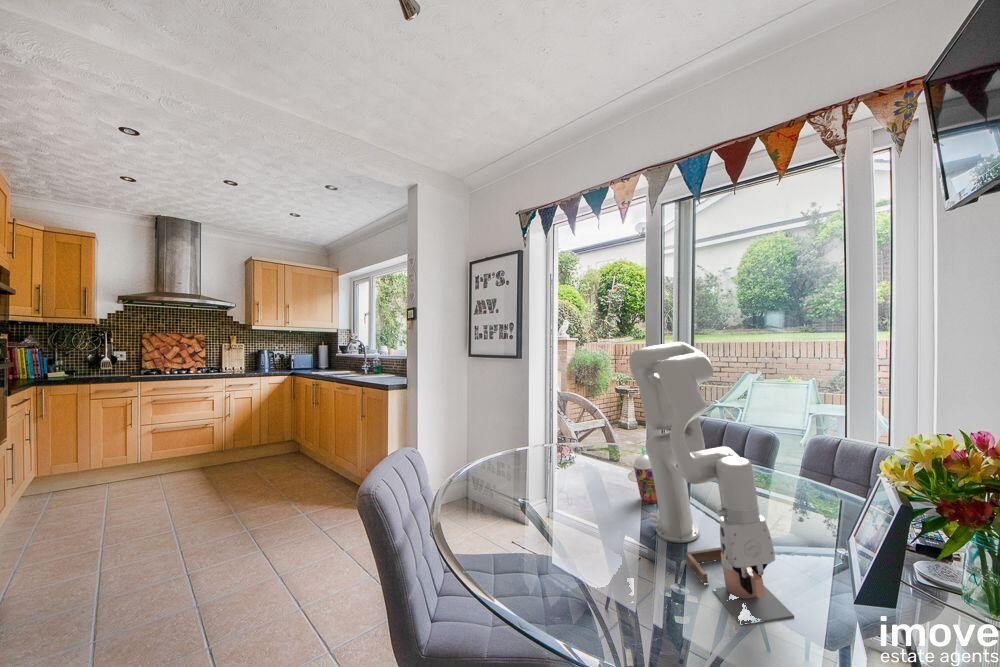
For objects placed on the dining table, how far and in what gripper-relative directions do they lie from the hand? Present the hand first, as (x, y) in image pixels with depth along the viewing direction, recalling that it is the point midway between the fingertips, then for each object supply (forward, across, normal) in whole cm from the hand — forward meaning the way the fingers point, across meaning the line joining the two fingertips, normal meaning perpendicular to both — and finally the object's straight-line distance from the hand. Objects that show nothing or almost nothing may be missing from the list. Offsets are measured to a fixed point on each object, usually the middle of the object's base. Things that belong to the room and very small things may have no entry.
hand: (752, 589), depth 96 cm
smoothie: (+4, -3, +59) cm, 60 cm away
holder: (+4, 0, +15) cm, 15 cm away
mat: (+4, 0, +2) cm, 5 cm away
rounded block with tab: (+3, 0, +2) cm, 4 cm away
